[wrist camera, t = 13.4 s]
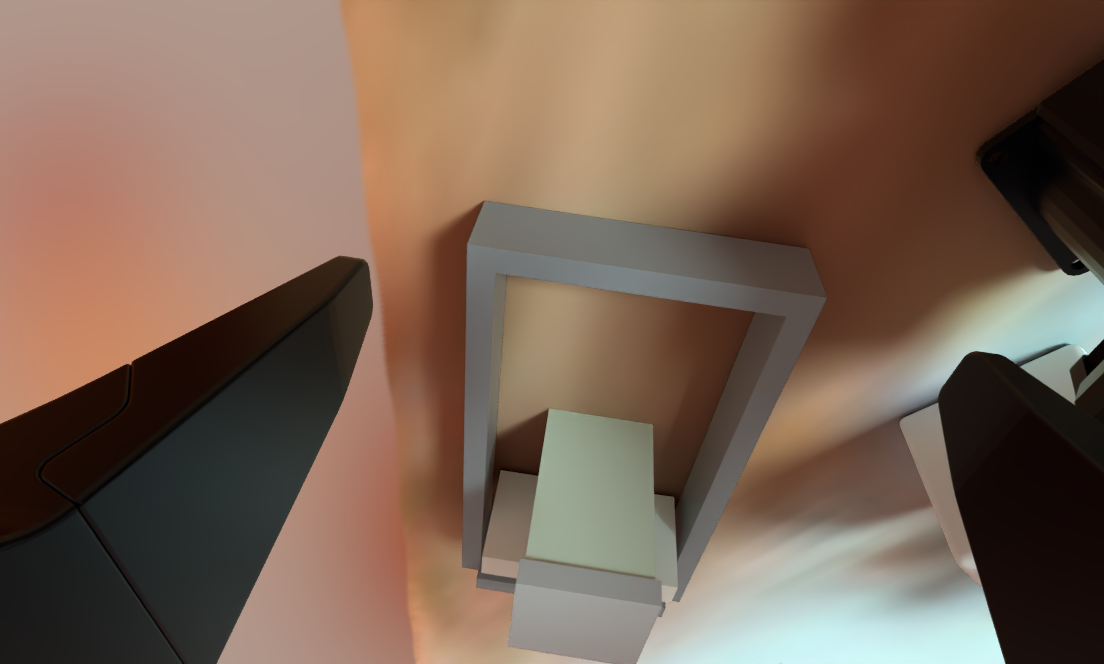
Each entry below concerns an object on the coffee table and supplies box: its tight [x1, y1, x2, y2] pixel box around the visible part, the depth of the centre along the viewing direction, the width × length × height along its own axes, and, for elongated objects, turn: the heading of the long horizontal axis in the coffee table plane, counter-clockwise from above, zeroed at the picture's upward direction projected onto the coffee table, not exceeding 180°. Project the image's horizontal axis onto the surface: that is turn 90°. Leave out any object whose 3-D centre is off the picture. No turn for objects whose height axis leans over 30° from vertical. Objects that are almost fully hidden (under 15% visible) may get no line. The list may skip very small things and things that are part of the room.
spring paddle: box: [481, 470, 678, 603], centre depth 34 cm, size 8×9×5 cm
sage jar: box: [508, 408, 662, 664], centre depth 28 cm, size 5×5×9 cm
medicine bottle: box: [900, 345, 1088, 587], centre depth 23 cm, size 7×7×12 cm
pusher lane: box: [462, 201, 827, 617], centre depth 28 cm, size 21×12×4 cm, turn 174°
